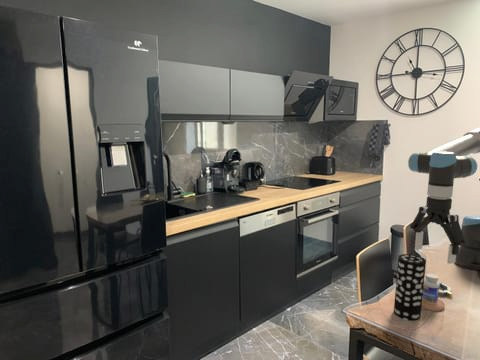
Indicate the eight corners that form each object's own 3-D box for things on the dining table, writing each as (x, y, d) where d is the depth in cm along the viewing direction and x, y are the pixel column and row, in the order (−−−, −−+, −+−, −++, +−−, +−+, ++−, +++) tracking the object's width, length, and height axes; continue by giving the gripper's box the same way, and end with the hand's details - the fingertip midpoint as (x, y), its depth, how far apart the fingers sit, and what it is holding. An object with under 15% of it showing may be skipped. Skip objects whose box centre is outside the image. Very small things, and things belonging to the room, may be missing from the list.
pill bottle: (418, 301, 125) (421, 276, 124) (422, 296, 130) (424, 271, 128) (435, 306, 122) (438, 280, 121) (438, 300, 126) (441, 275, 125)
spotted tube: (419, 323, 113) (425, 265, 110) (391, 316, 118) (396, 260, 114) (421, 312, 120) (427, 257, 117) (395, 305, 125) (400, 252, 121)
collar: (432, 281, 144) (432, 278, 144) (459, 295, 132) (460, 291, 132) (415, 285, 141) (415, 281, 140) (441, 299, 129) (442, 295, 129)
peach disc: (427, 295, 132) (427, 292, 132) (451, 308, 123) (451, 305, 123) (406, 299, 129) (407, 297, 129) (429, 313, 120) (429, 310, 120)
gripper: (482, 204, 109) (475, 267, 113) (418, 189, 133) (414, 242, 136) (465, 206, 107) (458, 271, 110) (402, 191, 130) (398, 245, 134)
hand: (433, 255), depth 123 cm, fingers open, 13 cm apart
